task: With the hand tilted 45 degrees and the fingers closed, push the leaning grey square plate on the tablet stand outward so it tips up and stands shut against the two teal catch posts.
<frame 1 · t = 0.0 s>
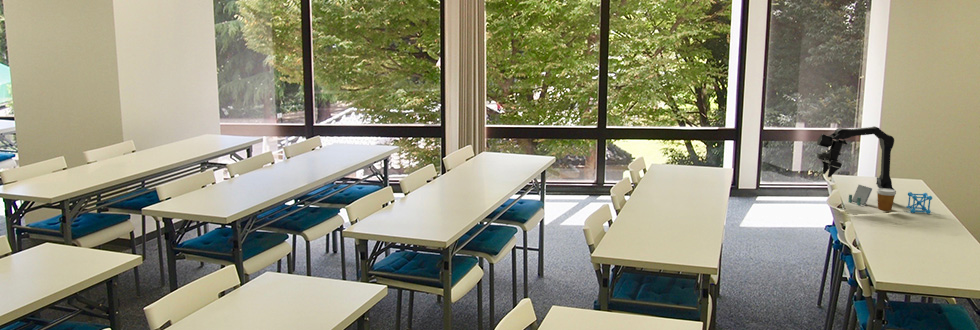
hand: (826, 175, 445), 15 cm above the table, tool pointing down, fingers open, 9 cm apart
molecular structure: (918, 212, 426), on the table
disposable coffee cup: (884, 211, 426), on the table
grey square plate: (861, 195, 439), point 6 cm above the table, hinge at -22.0°
tablet stand: (860, 205, 440), on the table
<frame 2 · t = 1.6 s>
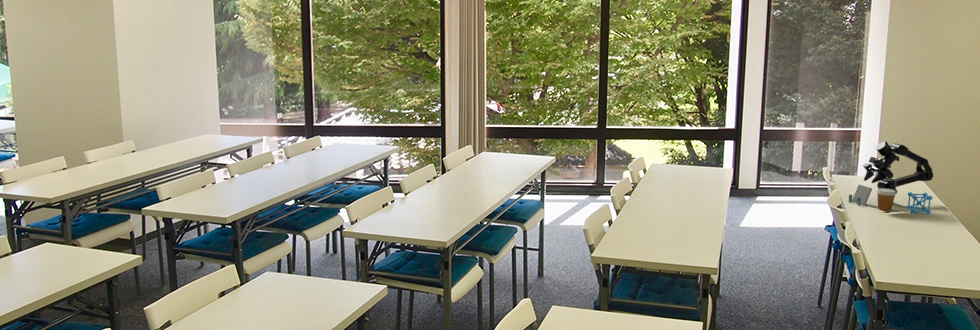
hand: (868, 181, 438), 14 cm above the table, tool tilted 45°, fingers open, 6 cm apart
nothing on the table moved.
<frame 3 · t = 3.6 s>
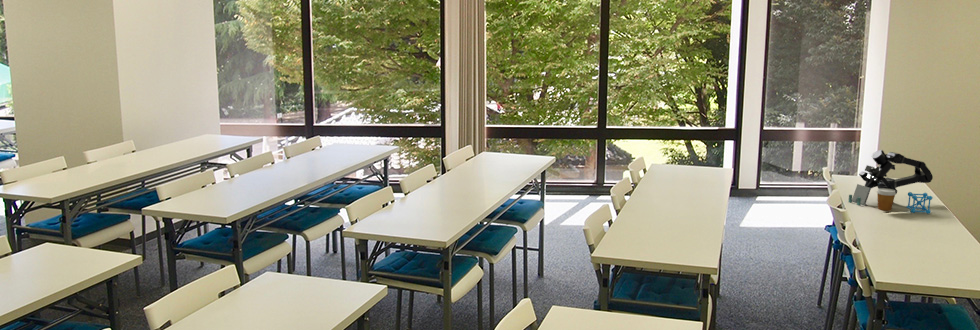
hand: (864, 190, 439), 9 cm above the table, tool tilted 45°, fingers closed, pressing on grey square plate
grey square plate: (861, 195, 439), point 6 cm above the table, hinge at -16.3°, touching gripper
everything else where it was.
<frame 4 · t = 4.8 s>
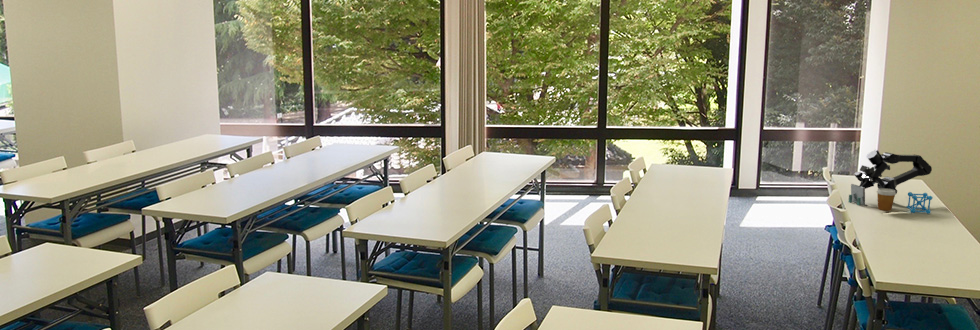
hand: (858, 190, 438), 9 cm above the table, tool tilted 45°, fingers closed, pressing on grey square plate
grey square plate: (857, 194, 438), point 6 cm above the table, hinge at 7.7°, touching gripper
everything else where it was.
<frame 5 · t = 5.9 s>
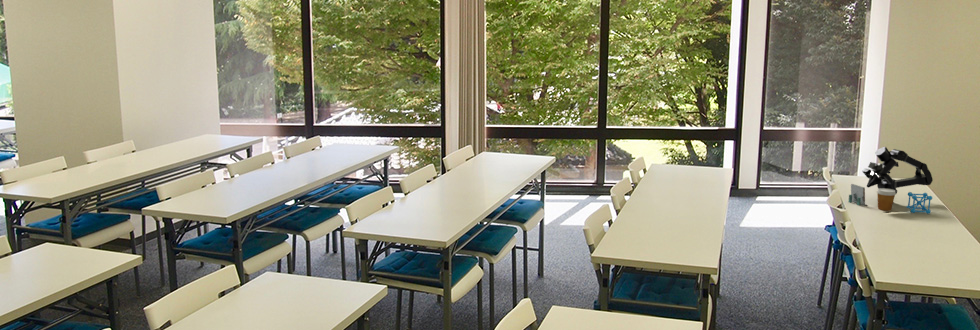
hand: (867, 186, 439), 10 cm above the table, tool tilted 45°, fingers closed
grey square plate: (857, 194, 438), point 6 cm above the table, hinge at 7.7°
everything else where it was.
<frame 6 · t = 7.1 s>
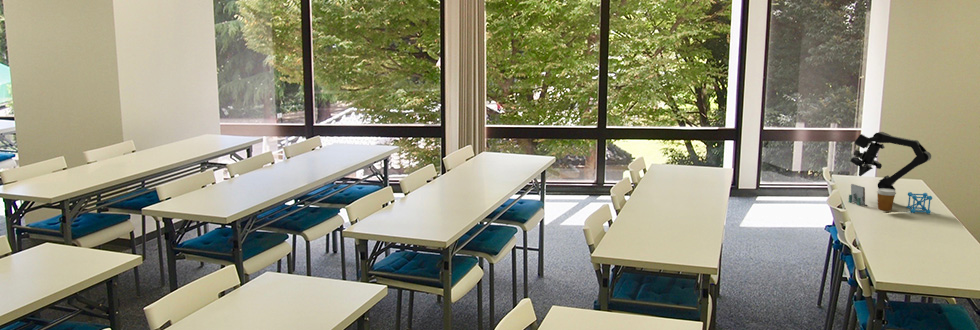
hand: (859, 175, 452), 14 cm above the table, tool tilted 20°, fingers closed
nothing on the table moved.
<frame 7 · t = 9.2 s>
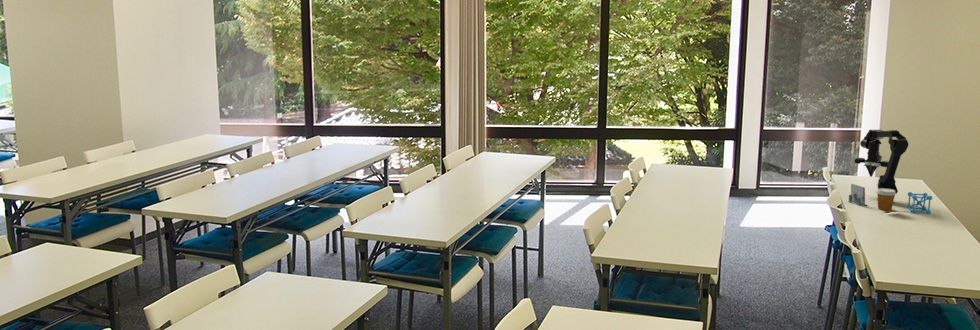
hand: (871, 176, 460), 12 cm above the table, tool pointing down, fingers closed
nothing on the table moved.
at the end: grey square plate at +8° (first picture: -22°) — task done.
